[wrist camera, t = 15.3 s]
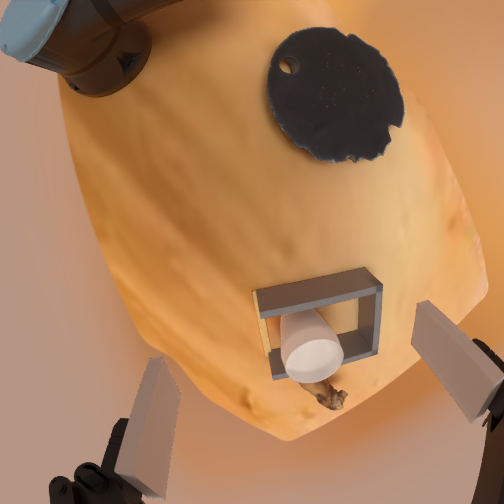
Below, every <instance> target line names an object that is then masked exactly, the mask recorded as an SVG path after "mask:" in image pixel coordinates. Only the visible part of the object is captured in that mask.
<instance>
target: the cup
mask: <svg viewBox="0 0 504 504" xmlns="http://www.w3.org/2000/svg"><path fill="white" fill-rule="evenodd" d="M280 328H281V358H282V361H283V364H284V367H285V370H286V373H287V375H288V376H289V377H290V378H291V379H292V380H294V381H296V382H299V383H315V382H319V381H322V380H324V379H326V378H328V377H330V376H331V375H332V374H334V373H335V372H336V371H337V370H338V368H339V367H340V366H341V364H342V361H343V357H344V353H343V350H342V347H341V345H340V342H339V340H338V337H337V335H336V334H335V332H334V331H333V330H332V329H331V328H330V326H329V325H328V324H327V323H326V322H325V321H324V319H323V318H322V317H321V316H320V315H319V313H318V312H317V311H316V310H315V309H314V308H313V309H308V310H304V311H299V312H294V313H289V314H285V315H282V316H281V319H280Z"/></svg>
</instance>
